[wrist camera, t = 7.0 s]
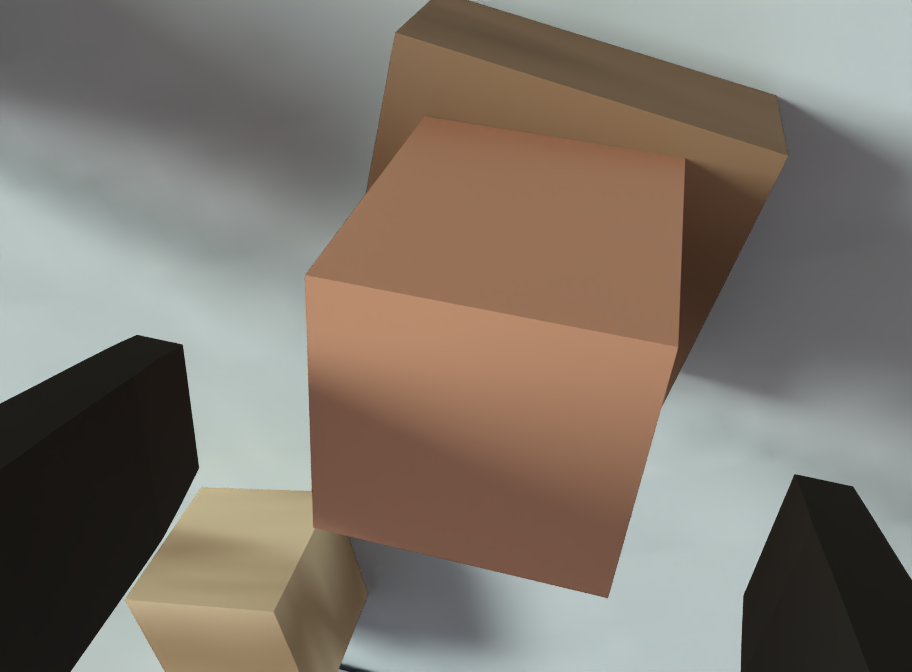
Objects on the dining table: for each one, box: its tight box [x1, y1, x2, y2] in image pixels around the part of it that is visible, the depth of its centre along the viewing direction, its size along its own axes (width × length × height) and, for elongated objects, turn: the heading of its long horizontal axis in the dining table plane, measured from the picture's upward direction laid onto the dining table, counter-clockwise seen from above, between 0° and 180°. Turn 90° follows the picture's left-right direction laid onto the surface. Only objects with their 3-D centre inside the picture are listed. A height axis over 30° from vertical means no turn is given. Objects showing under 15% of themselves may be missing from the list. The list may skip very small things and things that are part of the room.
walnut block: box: [366, 0, 788, 408], centre depth 15 cm, size 6×6×3 cm
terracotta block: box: [305, 116, 685, 598], centre depth 12 cm, size 4×4×5 cm
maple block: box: [125, 487, 368, 672], centre depth 23 cm, size 4×4×4 cm
